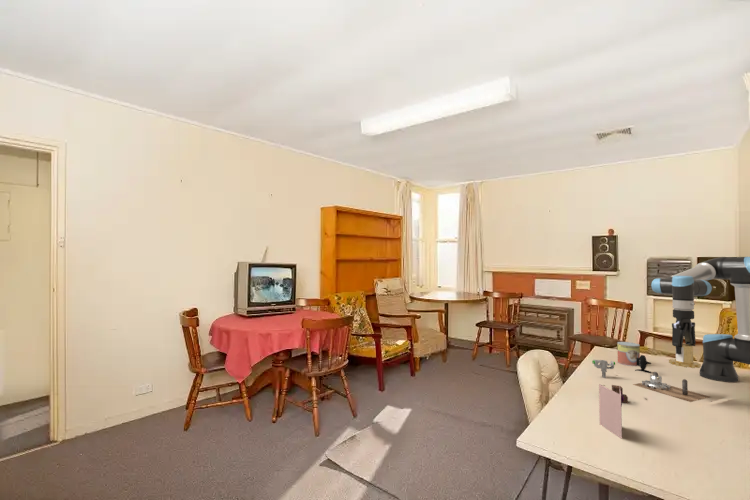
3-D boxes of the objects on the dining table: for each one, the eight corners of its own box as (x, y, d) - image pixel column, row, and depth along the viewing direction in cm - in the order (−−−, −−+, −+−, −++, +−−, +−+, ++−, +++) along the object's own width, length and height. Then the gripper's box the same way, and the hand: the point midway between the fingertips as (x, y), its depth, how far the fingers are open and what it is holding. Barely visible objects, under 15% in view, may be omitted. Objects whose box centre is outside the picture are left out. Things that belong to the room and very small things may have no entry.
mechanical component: (616, 381, 187) (615, 362, 187) (594, 380, 189) (594, 360, 189) (613, 379, 189) (613, 360, 190) (592, 378, 192) (591, 359, 192)
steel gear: (650, 381, 183) (650, 371, 183) (675, 388, 172) (675, 377, 173) (636, 384, 178) (636, 373, 179) (661, 391, 168) (661, 380, 168)
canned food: (623, 365, 217) (622, 345, 217) (614, 360, 228) (613, 341, 228) (644, 366, 215) (643, 346, 215) (633, 361, 226) (633, 342, 226)
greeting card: (624, 439, 125) (624, 395, 125) (599, 434, 129) (598, 391, 129) (623, 427, 135) (622, 386, 135) (599, 422, 139) (599, 382, 139)
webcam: (634, 370, 207) (634, 352, 207) (651, 372, 202) (650, 354, 203) (634, 373, 200) (634, 355, 201) (651, 376, 196) (651, 357, 196)
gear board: (652, 383, 184) (652, 366, 184) (711, 400, 162) (711, 381, 162) (632, 387, 178) (632, 370, 178) (690, 405, 156) (690, 385, 156)
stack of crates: (632, 398, 165) (632, 383, 166) (640, 410, 152) (640, 393, 152) (594, 393, 172) (594, 378, 172) (598, 404, 158) (598, 388, 158)
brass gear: (677, 360, 172) (677, 341, 172) (706, 366, 162) (705, 346, 162) (663, 362, 168) (663, 343, 168) (691, 369, 158) (691, 348, 158)
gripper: (680, 311, 159) (681, 364, 158) (705, 309, 166) (706, 360, 165) (661, 309, 166) (662, 360, 165) (685, 307, 173) (686, 356, 172)
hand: (684, 360), depth 165 cm, fingers closed on brass gear, 6 cm apart
